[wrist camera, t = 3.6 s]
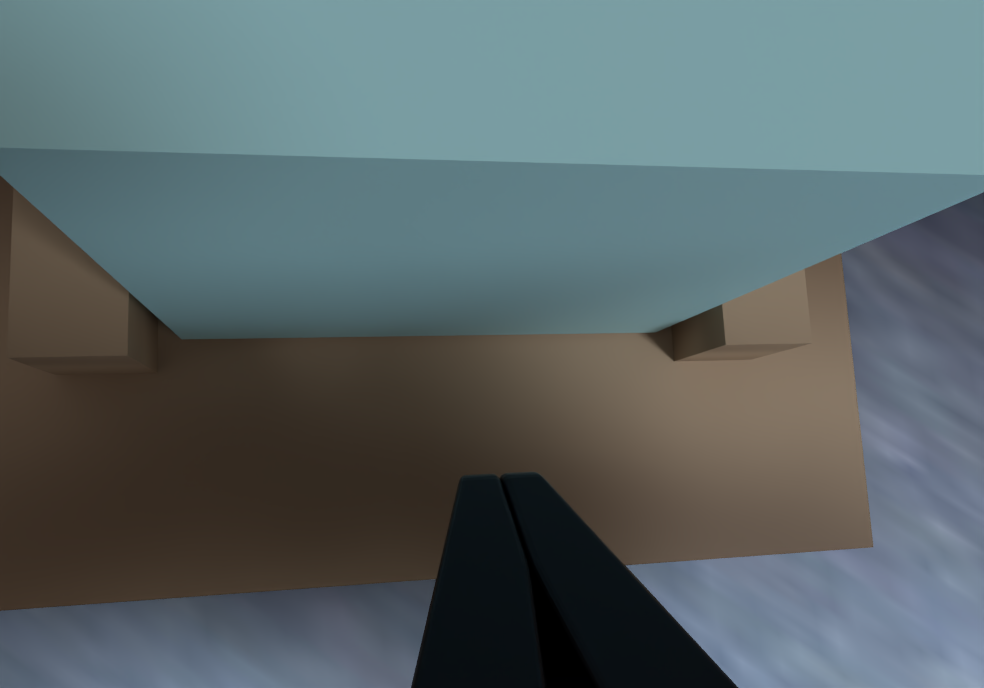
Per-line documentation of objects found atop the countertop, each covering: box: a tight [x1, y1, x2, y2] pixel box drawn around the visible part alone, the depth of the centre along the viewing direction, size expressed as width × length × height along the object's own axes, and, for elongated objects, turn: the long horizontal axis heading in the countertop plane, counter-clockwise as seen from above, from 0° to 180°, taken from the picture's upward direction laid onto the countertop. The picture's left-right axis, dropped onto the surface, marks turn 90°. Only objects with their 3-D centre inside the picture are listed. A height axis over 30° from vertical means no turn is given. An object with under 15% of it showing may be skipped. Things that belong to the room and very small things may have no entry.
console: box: [0, 176, 873, 611], centre depth 11 cm, size 14×16×11 cm
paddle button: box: [0, 0, 984, 339], centre depth 10 cm, size 3×8×8 cm, turn 93°
